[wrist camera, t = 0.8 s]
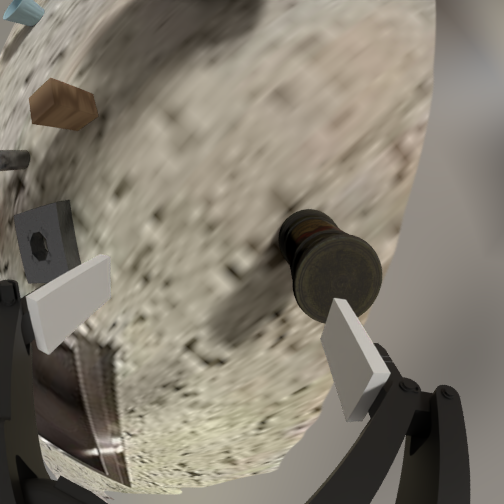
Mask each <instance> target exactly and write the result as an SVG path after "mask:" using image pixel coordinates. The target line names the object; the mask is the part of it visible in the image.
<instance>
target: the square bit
mask: <svg viewBox="0 0 504 504" xmlns="http://www.w3.org/2000/svg"><path fill="white" fill-rule="evenodd" d="M29 103H30V112H31V119H32V124H36V125H43V126H50V127H57V128H63V129H69V130H74V131H79V130H80V129H81V128H83V127H84V126H85V125H87V124H88V123H90V122H91V121H93V120H94V119H95V118H97V117H98V112H97V108H96V104H95V100H94V96H93V94H92V93H89V92H87V91H84V90H82V89H79V88H77V87H74V86H72V85H69V84H66V83H64V82H61V81H58V80H56V79H53V78H50V79H49V80H47V81H46V82H45V83H44V84H43V85H42V86H41V87H40V88H39V89H38V90H37V91H36V92H35V93H34V94H33V95H32V96H31V97H30V98H29Z"/></svg>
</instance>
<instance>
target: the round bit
mask: <svg viewBox="0 0 504 504" xmlns="http://www.w3.org/2000/svg"><path fill="white" fill-rule="evenodd" d="M29 162H30V154H29V152H28V151H27V150H0V171H8V170H21V169H26V168H27V167H28V165H29Z"/></svg>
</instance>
